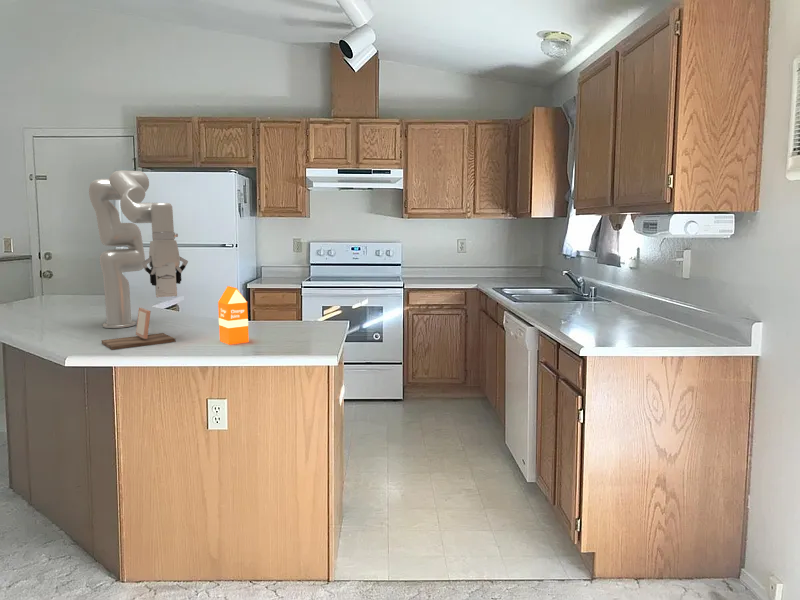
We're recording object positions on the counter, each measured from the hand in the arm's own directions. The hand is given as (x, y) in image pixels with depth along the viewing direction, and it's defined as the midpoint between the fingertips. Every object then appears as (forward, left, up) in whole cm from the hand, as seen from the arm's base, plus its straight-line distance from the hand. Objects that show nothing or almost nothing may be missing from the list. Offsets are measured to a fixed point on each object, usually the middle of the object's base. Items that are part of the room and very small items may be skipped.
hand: (166, 284), depth 248 cm
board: (+1, -11, -20) cm, 23 cm away
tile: (+1, -9, -14) cm, 16 cm away
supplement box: (-1, 0, -5) cm, 5 cm away
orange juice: (+21, +17, -21) cm, 34 cm away
